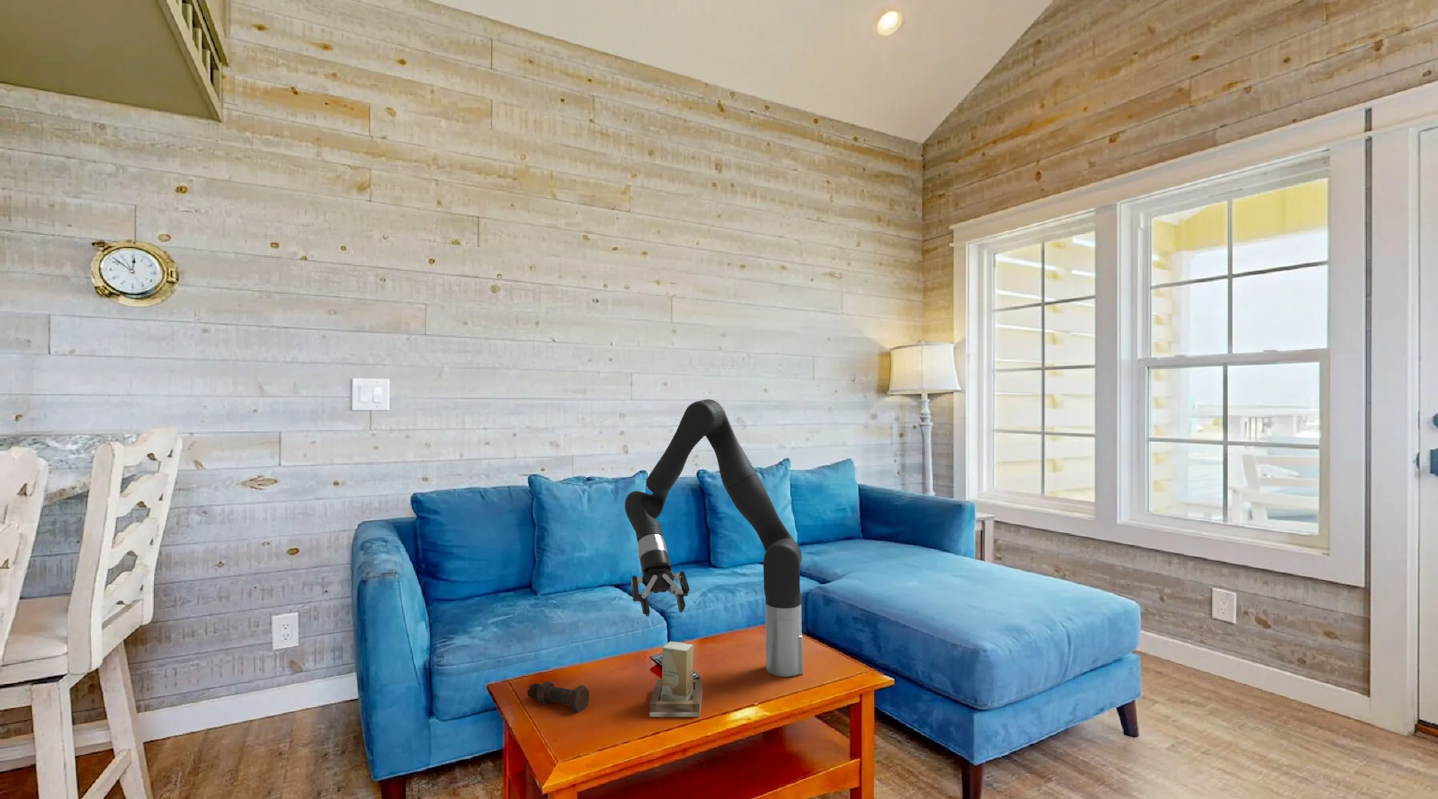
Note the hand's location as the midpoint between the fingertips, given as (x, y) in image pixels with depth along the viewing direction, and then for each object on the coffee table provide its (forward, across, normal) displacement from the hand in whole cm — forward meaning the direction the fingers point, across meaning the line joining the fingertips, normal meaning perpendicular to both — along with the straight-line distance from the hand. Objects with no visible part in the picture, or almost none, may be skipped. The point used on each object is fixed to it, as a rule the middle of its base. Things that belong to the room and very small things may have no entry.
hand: (665, 612), depth 162 cm
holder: (+20, 0, +5) cm, 21 cm away
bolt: (+14, -26, +12) cm, 32 cm away
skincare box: (+19, 0, +4) cm, 20 cm away
